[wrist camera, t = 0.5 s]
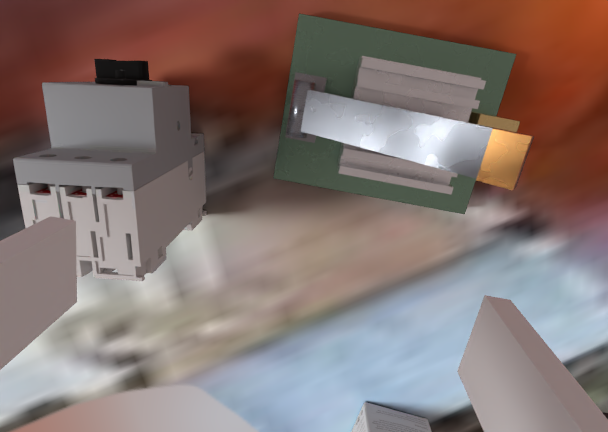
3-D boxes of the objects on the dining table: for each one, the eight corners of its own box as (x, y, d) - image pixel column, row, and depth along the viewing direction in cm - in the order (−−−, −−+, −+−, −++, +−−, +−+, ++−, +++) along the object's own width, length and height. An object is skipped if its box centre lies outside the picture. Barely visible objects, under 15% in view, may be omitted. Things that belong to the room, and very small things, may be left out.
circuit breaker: (201, 65, 37) (121, 57, 23) (206, 214, 42) (142, 284, 28) (120, 62, 38) (-8, 51, 23) (134, 210, 42) (34, 277, 28)
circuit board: (276, 173, 40) (264, 193, 33) (300, 17, 35) (293, 2, 29) (458, 207, 40) (484, 234, 33) (506, 55, 35) (548, 49, 29)
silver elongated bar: (293, 133, 32) (279, 133, 31) (302, 80, 31) (288, 78, 29) (513, 194, 25) (509, 198, 23) (538, 127, 23) (535, 127, 22)
